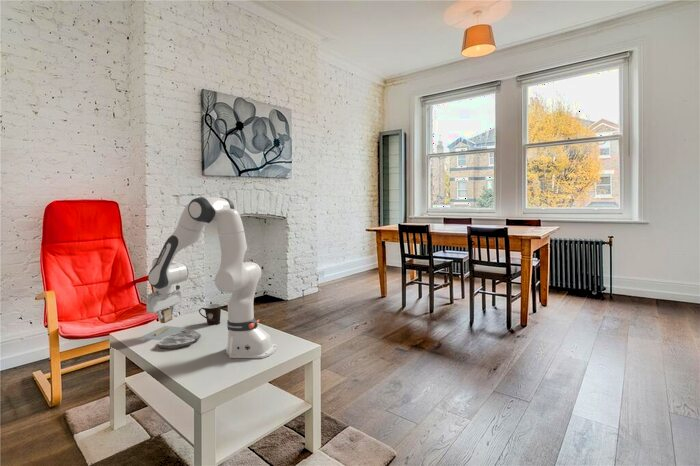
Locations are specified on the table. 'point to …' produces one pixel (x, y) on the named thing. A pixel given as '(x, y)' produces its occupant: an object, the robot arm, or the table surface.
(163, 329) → the birch strip
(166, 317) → the walnut block
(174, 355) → the table surface
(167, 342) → the brain slice
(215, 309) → the coffee mug
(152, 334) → the rubber mat
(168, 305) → the robot arm
